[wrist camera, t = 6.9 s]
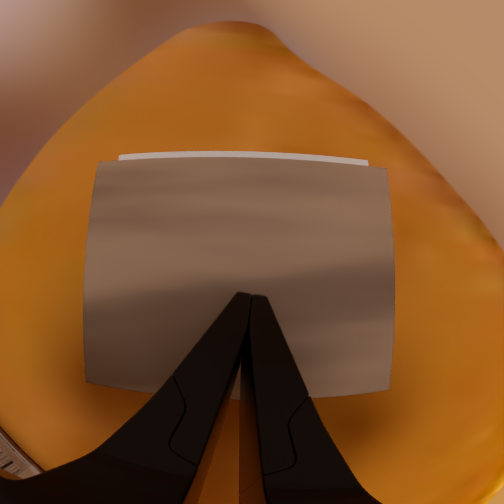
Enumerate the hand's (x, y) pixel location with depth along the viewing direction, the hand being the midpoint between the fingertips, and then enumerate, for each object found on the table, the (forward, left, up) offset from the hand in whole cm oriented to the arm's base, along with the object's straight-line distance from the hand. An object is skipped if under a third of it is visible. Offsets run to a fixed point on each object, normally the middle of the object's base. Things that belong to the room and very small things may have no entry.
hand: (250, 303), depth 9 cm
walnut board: (-4, 0, -4) cm, 5 cm away
